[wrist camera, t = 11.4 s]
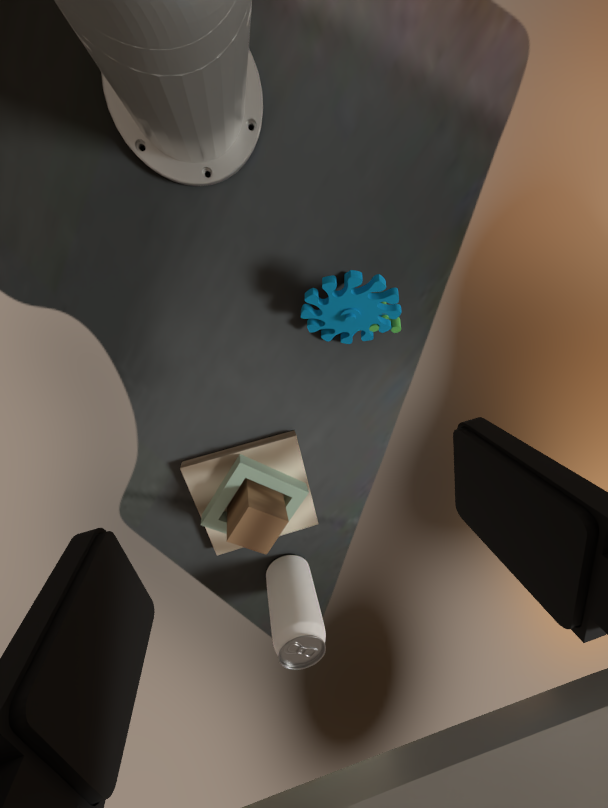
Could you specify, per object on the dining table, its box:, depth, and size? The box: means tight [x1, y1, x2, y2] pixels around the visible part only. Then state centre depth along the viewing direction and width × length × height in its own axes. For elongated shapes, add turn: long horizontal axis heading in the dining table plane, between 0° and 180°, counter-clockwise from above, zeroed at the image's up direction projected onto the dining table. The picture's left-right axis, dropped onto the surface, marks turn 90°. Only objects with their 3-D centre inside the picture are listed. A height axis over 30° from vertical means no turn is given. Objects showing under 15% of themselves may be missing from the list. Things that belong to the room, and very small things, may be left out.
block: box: [226, 478, 289, 555], centre depth 40 cm, size 5×5×6 cm
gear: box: [301, 270, 401, 344], centre depth 35 cm, size 11×6×10 cm
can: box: [266, 555, 326, 670], centre depth 45 cm, size 6×6×12 cm
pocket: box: [201, 454, 309, 534], centre depth 42 cm, size 10×10×2 cm
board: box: [180, 430, 318, 555], centre depth 44 cm, size 14×14×2 cm
